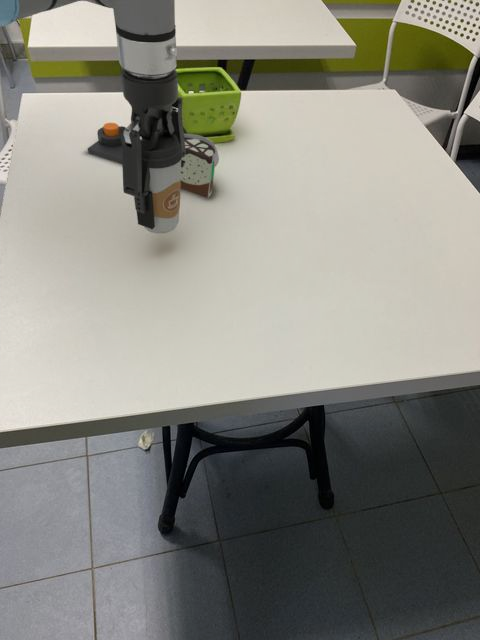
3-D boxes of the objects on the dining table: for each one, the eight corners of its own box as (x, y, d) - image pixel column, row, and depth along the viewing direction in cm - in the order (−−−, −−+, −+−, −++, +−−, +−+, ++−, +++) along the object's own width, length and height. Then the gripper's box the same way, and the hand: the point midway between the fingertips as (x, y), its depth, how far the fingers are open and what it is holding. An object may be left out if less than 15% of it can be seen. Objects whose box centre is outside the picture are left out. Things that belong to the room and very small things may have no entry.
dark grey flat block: (86, 155, 109) (83, 139, 106) (117, 132, 116) (115, 118, 114) (152, 175, 106) (150, 160, 103) (179, 151, 113) (178, 137, 110)
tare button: (101, 134, 109) (100, 127, 107) (109, 129, 111) (108, 121, 109) (114, 138, 108) (112, 130, 107) (122, 132, 110) (121, 125, 109)
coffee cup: (160, 244, 81) (153, 160, 70) (125, 223, 84) (113, 138, 73) (194, 223, 86) (193, 140, 75) (160, 203, 89) (154, 121, 77)
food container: (228, 188, 105) (230, 143, 97) (214, 202, 101) (215, 156, 94) (178, 171, 108) (176, 126, 100) (163, 184, 104) (159, 138, 96)
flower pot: (183, 152, 113) (181, 95, 103) (167, 124, 121) (164, 68, 111) (240, 146, 117) (243, 90, 108) (221, 119, 125) (222, 65, 116)
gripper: (131, 103, 59) (146, 253, 76) (208, 51, 72) (206, 190, 89) (78, 87, 60) (105, 238, 78) (163, 39, 73) (170, 178, 91)
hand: (159, 212), depth 83 cm, fingers closed on coffee cup, 8 cm apart
